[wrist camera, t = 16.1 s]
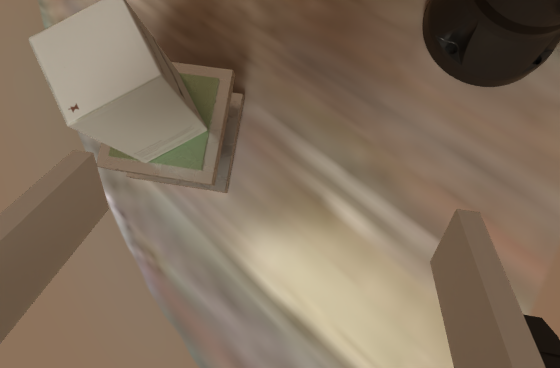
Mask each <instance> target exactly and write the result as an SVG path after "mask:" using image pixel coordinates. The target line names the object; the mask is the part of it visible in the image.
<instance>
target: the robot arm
mask: <svg viewBox="0 0 560 368" xmlns="http://www.w3.org/2000/svg"><path fill="white" fill-rule="evenodd" d="M423 35H424V40H425V43H426V46H427V49H428V51H429V53H430V54H431V56H432V58H433V59H434V60H435V62H436V63H437V64H438V65H439V66H440V67H441V68H442V69H443V70H444V71H445V72H446V73H448V74H449V75H451V76H452V77H454V78H456V79H458V80H460V81H462V82H465V83H468V84H471V85H475V86H482V87H496V86H503V85H507V84H510V83H513V82H516V81H518V80H520V79H522V78H523V77H525V76H526V75H528V74H529V73H531V72H532V71H534V70H535V69H536V68H538V67H539V66H540V65H541V64H543V63H544V62H545V61H546V60H547V59H548V57H549V56H550V55H551V54H552V52H553V51H554V49H555V48H556V46H557V44H558V43H559V41H560V0H430V2H429V4H428V6H427V8H426V11H425V15H424V19H423ZM108 209H109V207H108V203H107V200H106V196H105V193H104V189H103V186H102V182H101V179H100V175H99V172H98V168H97V164H96V161H95V157H94V154H93V153H91V152H84V151H77V150H73V151H72V152H71V153H70V154H68V155H67V156H66V157H65V158H64V159H63V160H61V161H60V162H59V163H58V164H57V165H56V166H55V167H53V168H52V169H51V170H50V171H49V172H48V173H47V174H46V175H44V176H43V177H42V178H41V179H40V180H39V181H37V182H36V183H35V184H34V185H33V186H32V187H30V188H29V189H28V190H27V191H26V192H25V193H24V194H22V195H21V196H20V197H19V198H18V199H17V200H16V201H14V202H13V203H12V204H11V205H10V206H9V207H7V208H6V209H5V210H4V211H3V212H2V213H1V214H0V343H1V342H2V341H3V340H4V338H5V337H6V336H7V334H8V333H9V332H10V331H11V330H12V329H13V327H14V326H15V325H16V323H17V322H18V321H19V320H20V319H21V317H22V316H23V315H24V314H25V312H26V311H27V310H28V309H29V307H30V306H31V305H32V304H33V302H34V301H35V300H36V299H37V298H38V296H39V295H40V294H41V292H42V291H43V290H44V289H45V288H46V286H47V285H48V284H49V283H50V281H51V280H52V279H53V278H54V276H55V275H56V274H57V273H58V271H59V270H60V269H61V268H62V266H63V265H64V264H65V263H66V261H67V260H68V259H69V258H70V256H71V255H72V254H73V252H75V250H76V249H77V248H78V246H79V245H80V244H81V243H82V242H83V240H84V239H85V238H86V237H87V235H88V234H89V233H90V232H91V230H92V229H93V228H94V227H95V225H96V224H97V223H98V222H99V221H100V219H101V218H102V217H103V216H104V214H105V213H106V212H107V211H108ZM430 263H431V268H432V272H433V277H434V281H435V285H436V290H437V294H438V299H439V303H440V308H441V312H442V316H443V321H444V325H445V330H446V334H447V338H448V343H449V347H450V352H451V356H452V361H453V365H454V368H560V340H559V338H558V336H557V335H556V334H555V333H554V332H553V330H552V329H551V328H550V327H549V326H548V325H547V324H546V322H545V321H544V320H543V319H542V318H540V317H534V316H528V315H523V313H522V311H521V309H520V306H519V304H518V302H517V299H516V297H515V294H514V292H513V290H512V287H511V285H510V283H509V280H508V278H507V276H506V273H505V271H504V269H503V266H502V264H501V262H500V259H499V257H498V255H497V252H496V250H495V248H494V245H493V243H492V241H491V238H490V236H489V233H488V231H487V229H486V226H485V224H484V222H483V219H482V217H481V215H480V212H474V211H467V210H461V209H456V211H455V213H454V215H453V217H452V219H451V221H450V223H449V225H448V227H447V229H446V231H445V233H444V235H443V237H442V239H441V241H440V243H439V245H438V247H437V249H436V251H435V253H434V255H433V257H432V259H431V261H430Z"/></svg>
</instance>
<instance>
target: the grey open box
mask: <svg viewBox="0 0 560 368" xmlns="http://www.w3.org/2000/svg"><path fill="white" fill-rule="evenodd" d="M172 64H173V65H174V67H175V68H176V69H177V71H178V72H179V74H180V77H181V79H182V81H183V83H184V85H185V87H186V89H187V91H188V93H189V95H190V97H191V99H192V101H193V103H194V105H195V107H196V109H197V110H198V112H199V114H200V116H201V118H202V120H203V121H204V123H205V125H206V126H207V128H208V130H207V131H206V132H204V133H202V134H200V135H198V136H196V137H194V138H193V139H191V140H189V141H187V142H185V143H183V144H181V145H180V146H178V147H176V148H174V149H172V150H170V151H168V152H166V153H164V154H162V155H160V156H158V157H157V158H155V159H153V160H151V161H149V162H147V163H144V162H142V161H140V160H138V159H136V158H133V157H131V156H129V155H127V154H125V153H123V152H121V151H119V150H117V149H114V148H112V147H110V146H108V145H106V144H104V143H102V142H101V147H100V151H99V155H98V160H97V167H100V168H103V169H109V170H115V171H121V172H127V175H126V176H127V177H130V178H134V179H141V180H147V181H153V182H160V183H166V184H172V185H179V186H185V187H191V188H198V189H204V190H210V191H216V192H223V193H227V192H228V186H229V181H230V175H231V170H232V164H233V159H234V153H235V148H236V142H237V137H238V132H239V126H240V121H241V115H242V110H243V104H244V96H243V94H239V93H232V91H233V86H234V81H235V74H234V72H233V70H229V69H222V68H214V67H207V66H199V65H192V64H184V63H176V62H172Z"/></svg>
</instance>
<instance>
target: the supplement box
mask: <svg viewBox="0 0 560 368" xmlns="http://www.w3.org/2000/svg"><path fill="white" fill-rule="evenodd" d="M29 42H30V45H31V47H32V49H33V51H34V53H35V55H36V57H37V60H38V62H39V64H40V67H41V69H42V71H43V73H44V75H45V78H46V80H47V83H48V85H49V87H50V89H51V91H52V93H53V95H54V97H55V99H56V102H57V104H58V106H59V108H60V111H61V113H62V115H63V117H64V119H65V122H66V125H67V126H69V127H71V128H73V129H75V130H77V131H79V132H81V133H83V134H85V135H87V136H89V137H92V138H94V139H96V140H98V141H100V142H102V143H104V144H106V145H108V146H110V147H112V148H114V149H117V150H119V151H121V152H123V153H125V154H127V155H129V156H131V157H133V158H136V159H138V160H140V161H142V162H144V163H147V162H149V161H151V160H153V159H155V158H157V157H158V156H160V155H162V154H164V153H166V152H168V151H170V150H172V149H174V148H176V147H178V146H180V145H181V144H183V143H185V142H187V141H189V140H191V139H193V138H194V137H196V136H198V135H200V134H202V133H204V132H206V131H207V130H208V128H207V126H206V125H205V123H204V121H203V120H202V118H201V116H200V114H199V112H198V110H197V109H196V107H195V105H194V103H193V101H192V99H191V97H190V95H189V93H188V91H187V89H186V87H185V85H184V83H183V81H182V79H181V77H180V74H179V72H178V71H177V69H176V68H175V67H174V65H173V64H172V62H171V61H170V60H169V58H168V57H167V55H166V54H165V53H164V51H163V50H162V49H161V47H160V46H159V44H158V43H157V42H156V40H155V39H154V38H153V36H152V35H151V34H150V32H149V31H148V30H147V28H146V27H145V26H144V24H143V23H142V22H141V20H140V19H139V18H138V16H137V15H136V14H135V12H134V11H133V10H132V8H131V7H130V6H129V4H128V3H127V2H126V0H101V1H99V2H97V3H95V4H93V5H91V6H89V7H87V8H85V9H83V10H81V11H79V12H78V13H76V14H74V15H72V16H70V17H68V18H66V19H65V20H63V21H61V22H59V23H57V24H55V25H53V26H51V27H49V28H47V29H45V30H43V31H41V32H39V33H37V34H35V35H32V36H30V37H29Z"/></svg>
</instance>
